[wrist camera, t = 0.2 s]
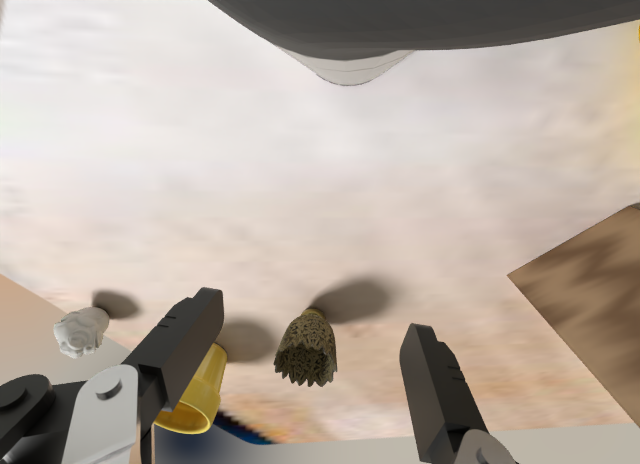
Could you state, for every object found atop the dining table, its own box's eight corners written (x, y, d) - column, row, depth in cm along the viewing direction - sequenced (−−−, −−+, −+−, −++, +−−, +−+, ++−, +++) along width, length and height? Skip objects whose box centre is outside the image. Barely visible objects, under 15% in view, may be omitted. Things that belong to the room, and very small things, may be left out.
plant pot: (228, 378, 46) (199, 442, 37) (174, 356, 44) (132, 418, 36) (247, 348, 41) (219, 415, 32) (187, 323, 39) (142, 386, 31)
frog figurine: (124, 331, 42) (86, 370, 36) (82, 315, 41) (36, 353, 35) (126, 309, 39) (85, 348, 33) (81, 291, 38) (30, 328, 32)
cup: (295, 289, 33) (281, 340, 26) (347, 305, 34) (346, 360, 27) (283, 324, 37) (267, 377, 30) (329, 338, 37) (325, 394, 30)
